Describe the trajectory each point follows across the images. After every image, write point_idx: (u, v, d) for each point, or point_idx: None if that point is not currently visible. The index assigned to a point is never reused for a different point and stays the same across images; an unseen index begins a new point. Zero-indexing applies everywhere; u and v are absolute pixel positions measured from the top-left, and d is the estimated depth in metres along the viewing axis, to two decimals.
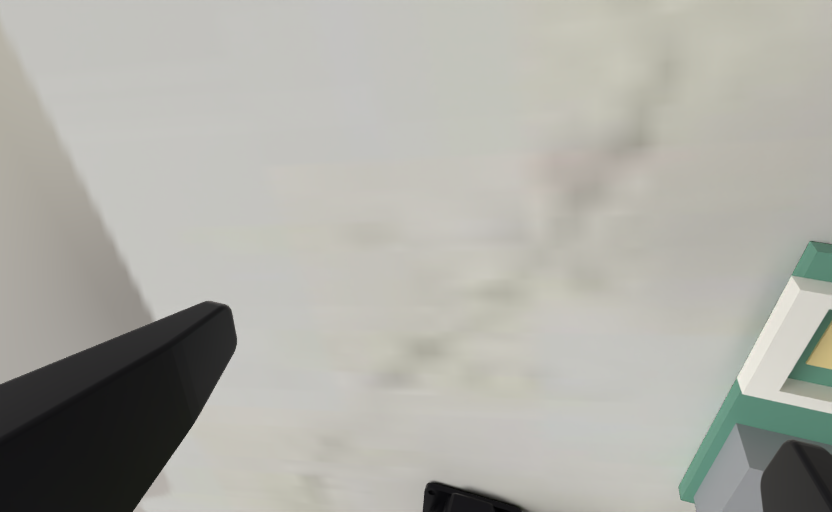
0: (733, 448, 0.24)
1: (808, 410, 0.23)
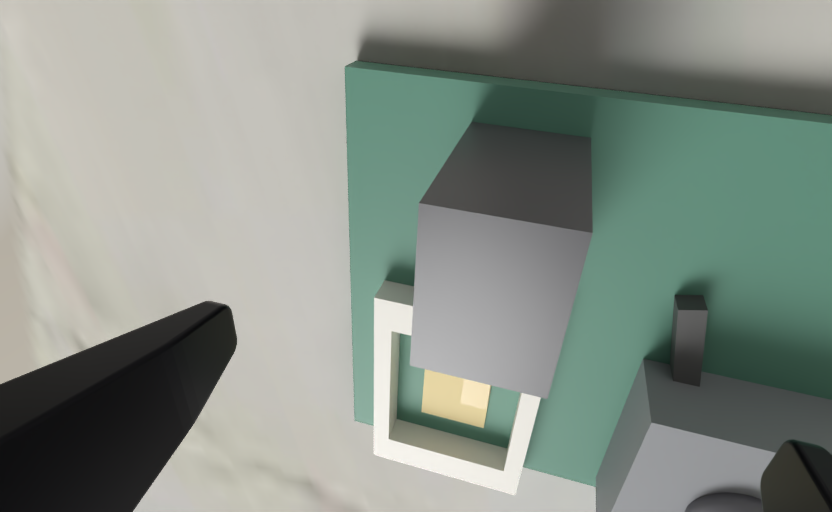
0: None
1: (560, 423, 0.18)
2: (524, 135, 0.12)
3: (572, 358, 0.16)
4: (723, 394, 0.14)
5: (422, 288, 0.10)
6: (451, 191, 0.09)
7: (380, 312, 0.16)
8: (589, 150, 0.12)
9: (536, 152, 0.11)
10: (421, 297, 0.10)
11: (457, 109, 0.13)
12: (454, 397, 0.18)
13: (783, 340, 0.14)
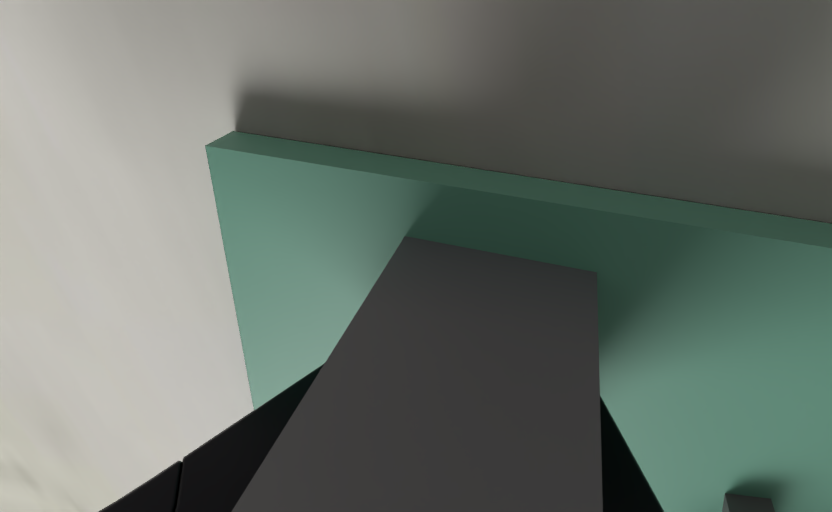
0: None
1: None
2: (485, 269, 0.07)
3: None
4: None
5: None
6: (308, 473, 0.05)
7: None
8: (594, 309, 0.07)
9: (501, 318, 0.06)
10: None
11: (381, 218, 0.08)
12: None
13: None
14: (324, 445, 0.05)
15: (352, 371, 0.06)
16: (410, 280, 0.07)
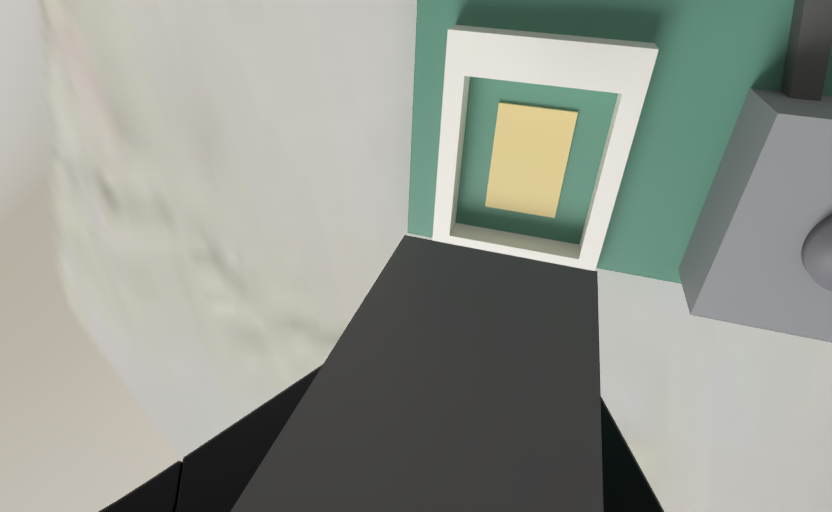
0: None
1: (643, 198, 0.16)
2: (486, 268, 0.07)
3: (666, 102, 0.14)
4: None
5: None
6: (308, 473, 0.04)
7: (454, 50, 0.14)
8: (594, 309, 0.07)
9: (501, 318, 0.06)
10: None
11: None
12: (524, 180, 0.17)
13: None
14: (324, 445, 0.05)
15: (352, 370, 0.06)
16: (410, 279, 0.07)
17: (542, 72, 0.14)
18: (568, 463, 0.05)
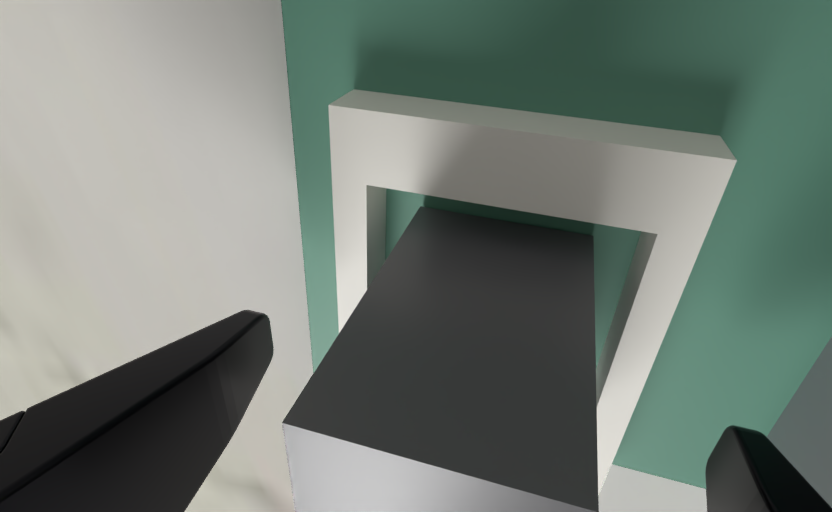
0: None
1: (685, 379, 0.09)
2: (494, 233, 0.08)
3: (735, 236, 0.08)
4: None
5: None
6: (350, 385, 0.05)
7: (343, 141, 0.08)
8: (591, 265, 0.08)
9: (509, 272, 0.07)
10: None
11: None
12: None
13: None
14: (362, 365, 0.06)
15: (381, 311, 0.06)
16: (427, 242, 0.08)
17: (505, 187, 0.07)
18: (567, 379, 0.06)
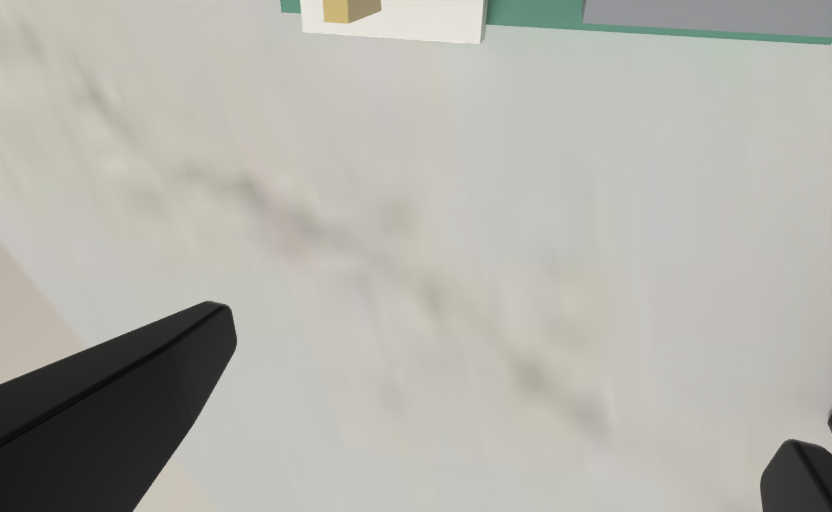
0: None
1: None
2: None
3: None
4: None
5: None
6: None
7: None
8: None
9: None
10: None
11: None
12: None
13: None
14: None
15: None
16: None
17: None
18: None
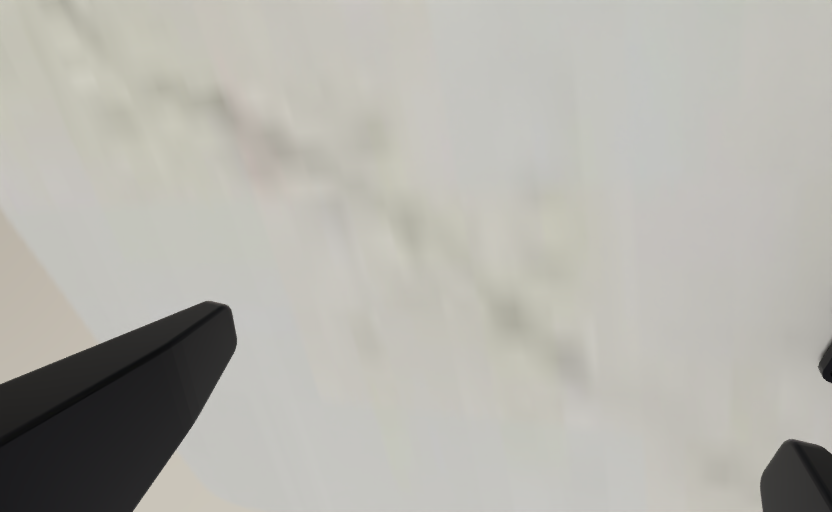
0: None
1: None
2: None
3: None
4: None
5: None
6: None
7: None
8: None
9: None
10: None
11: None
12: None
13: None
14: None
15: None
16: None
17: None
18: None
